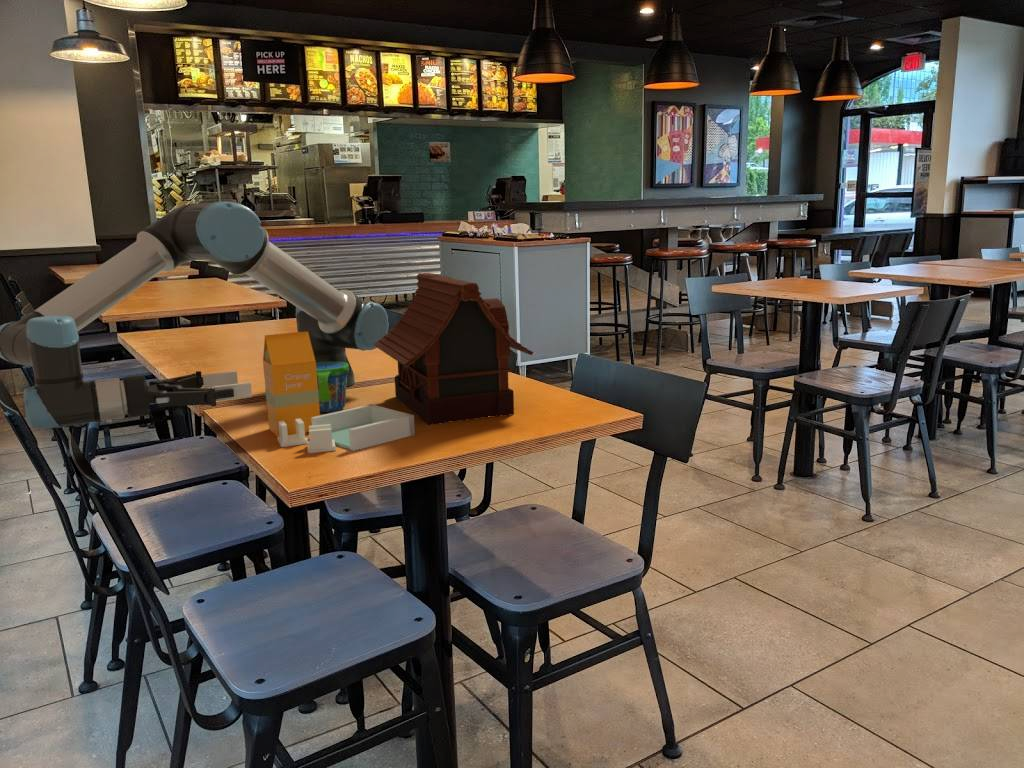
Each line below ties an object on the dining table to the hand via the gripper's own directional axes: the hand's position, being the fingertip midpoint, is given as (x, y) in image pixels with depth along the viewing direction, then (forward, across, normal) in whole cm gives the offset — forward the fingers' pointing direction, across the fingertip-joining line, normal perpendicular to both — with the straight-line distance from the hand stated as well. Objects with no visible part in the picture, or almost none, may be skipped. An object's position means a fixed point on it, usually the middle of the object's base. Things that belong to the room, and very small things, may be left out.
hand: (244, 383), depth 153 cm
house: (+45, -2, -11) cm, 46 cm away
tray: (+19, +13, -11) cm, 25 cm away
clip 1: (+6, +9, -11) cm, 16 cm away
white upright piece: (+10, +16, -11) cm, 22 cm away
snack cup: (+20, -13, -11) cm, 27 cm away
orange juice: (+9, 0, -11) cm, 14 cm away
